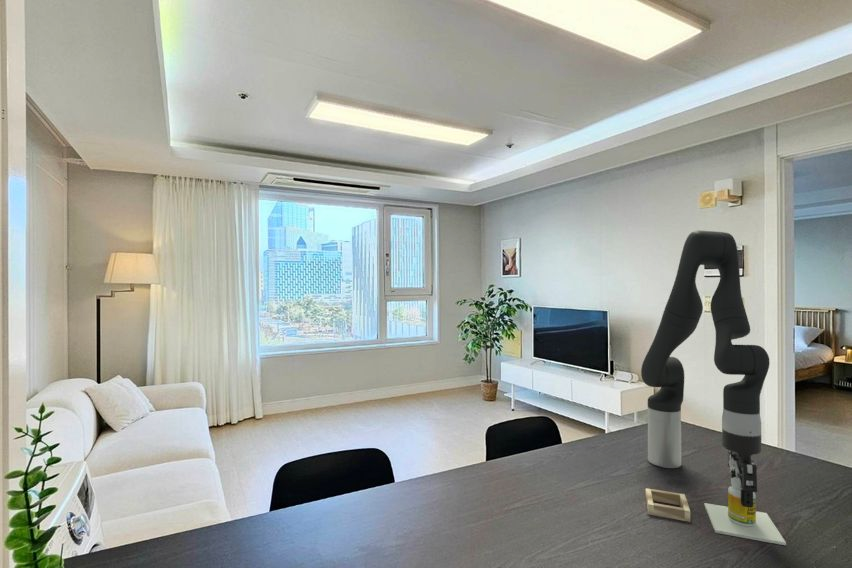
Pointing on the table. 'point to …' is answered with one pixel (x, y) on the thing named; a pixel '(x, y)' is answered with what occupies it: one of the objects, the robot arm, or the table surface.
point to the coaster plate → (759, 531)
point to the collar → (667, 510)
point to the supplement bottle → (740, 506)
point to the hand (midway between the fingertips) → (741, 497)
